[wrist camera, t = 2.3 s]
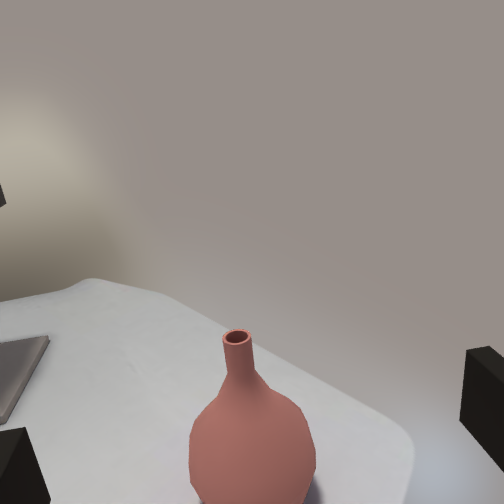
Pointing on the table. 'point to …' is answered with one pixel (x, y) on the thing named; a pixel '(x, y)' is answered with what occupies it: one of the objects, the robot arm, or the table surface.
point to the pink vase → (250, 438)
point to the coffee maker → (17, 364)
